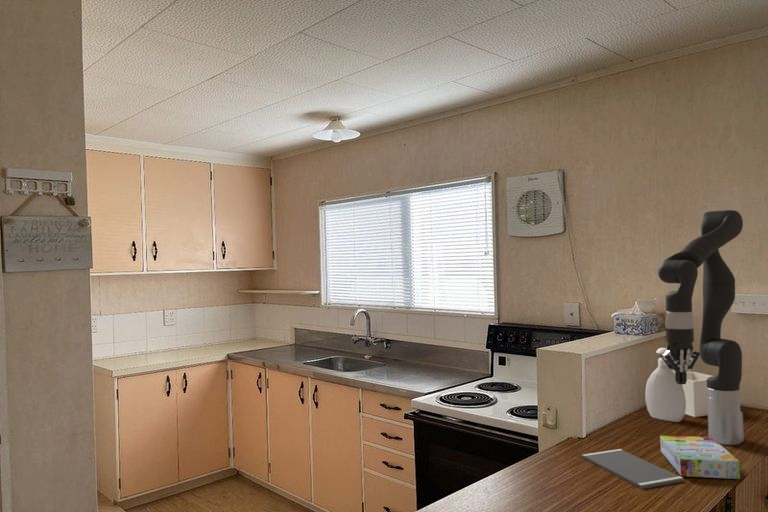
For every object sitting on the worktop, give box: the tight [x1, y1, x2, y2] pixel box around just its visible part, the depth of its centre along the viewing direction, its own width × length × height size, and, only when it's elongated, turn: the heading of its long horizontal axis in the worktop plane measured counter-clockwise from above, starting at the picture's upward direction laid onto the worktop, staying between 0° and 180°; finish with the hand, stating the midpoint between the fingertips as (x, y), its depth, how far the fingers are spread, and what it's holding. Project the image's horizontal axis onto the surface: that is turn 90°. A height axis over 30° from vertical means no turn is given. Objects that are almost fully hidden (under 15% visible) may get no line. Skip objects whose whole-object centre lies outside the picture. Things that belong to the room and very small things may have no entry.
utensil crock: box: [682, 371, 714, 418], centre depth 219 cm, size 14×14×14 cm
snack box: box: [659, 435, 741, 480], centre depth 166 cm, size 21×6×15 cm
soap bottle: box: [644, 347, 686, 423], centre depth 211 cm, size 14×8×27 cm, turn 39°
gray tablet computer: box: [580, 448, 686, 490], centre depth 165 cm, size 14×26×1 cm, turn 17°
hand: (681, 383), depth 171 cm, fingers closed
